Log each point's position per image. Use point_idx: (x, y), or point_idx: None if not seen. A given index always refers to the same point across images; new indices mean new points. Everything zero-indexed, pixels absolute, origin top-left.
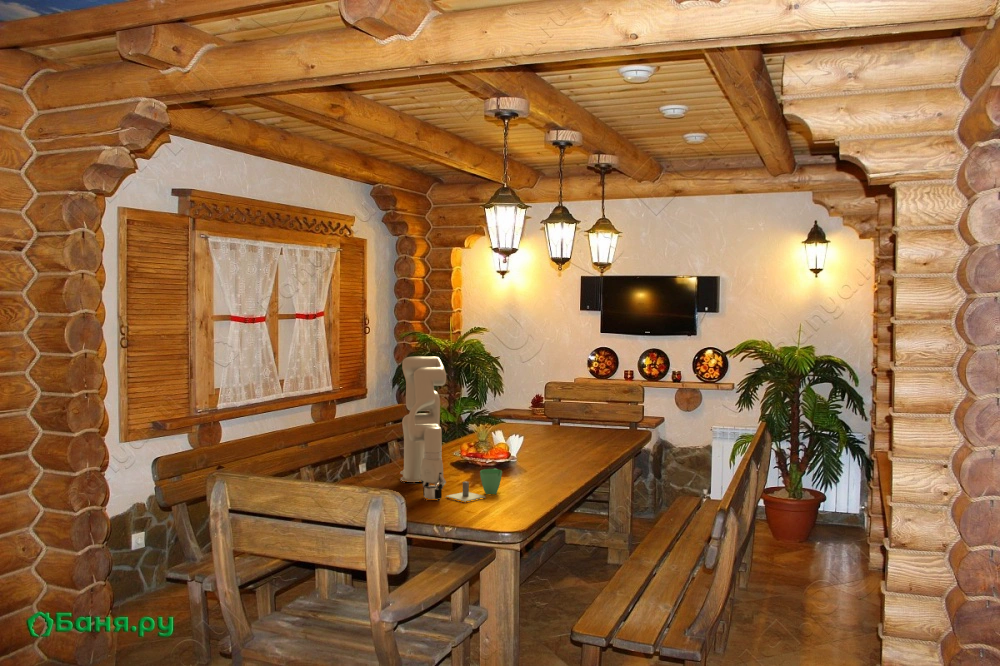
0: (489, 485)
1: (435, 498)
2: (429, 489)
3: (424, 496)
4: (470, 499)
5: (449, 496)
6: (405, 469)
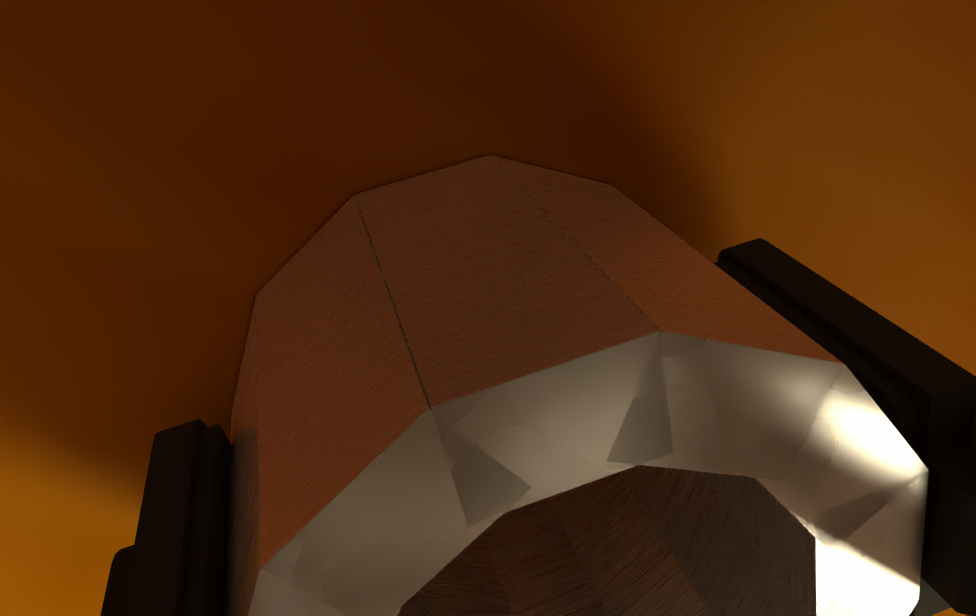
0: None
1: (176, 428)
2: (353, 458)
3: (600, 200)
4: None
5: None
6: None
